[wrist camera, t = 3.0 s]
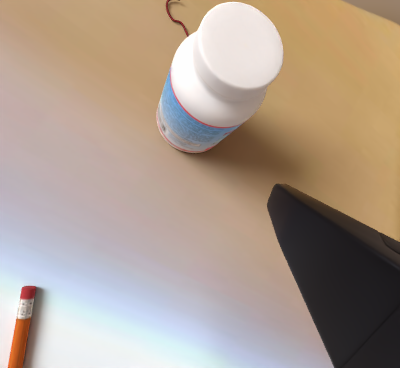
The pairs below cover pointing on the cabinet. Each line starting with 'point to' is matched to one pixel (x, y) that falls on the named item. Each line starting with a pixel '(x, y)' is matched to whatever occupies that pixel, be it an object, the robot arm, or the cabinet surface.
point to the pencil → (22, 327)
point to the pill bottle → (219, 77)
